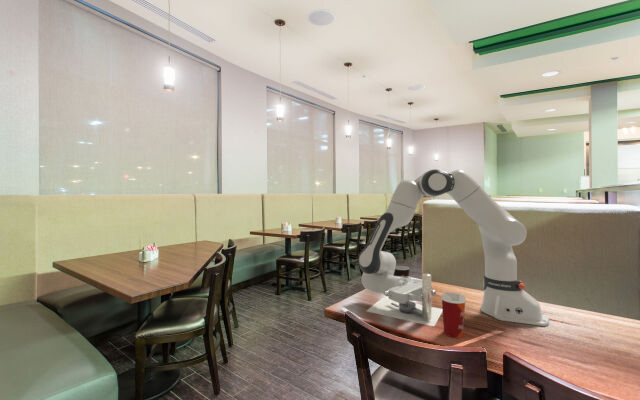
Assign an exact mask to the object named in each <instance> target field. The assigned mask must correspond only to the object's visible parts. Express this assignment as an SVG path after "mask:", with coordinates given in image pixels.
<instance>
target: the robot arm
mask: <svg viewBox="0 0 640 400" xmlns="http://www.w3.org/2000/svg"><path fill="white" fill-rule="evenodd" d="M444 194H447V195H449V196H450V197H451V198H452V199H453V200H454V201H455V202H456V204H458V206H459V207H460V208H461V210H463V211H464V213H466V215H467V216H468V217H469V218H470V219H472V220H473V221H474V223H477V225H478V231H479V233H480V235H481V242H482V248H483V256H484V275H483V279H482V280H483V281H482V282H483V283H482V284H483V285H482V286H483V289H484V290H483V298H482V303H481V306H480V311H481V312H483V313H484V314H486V315H488V316H490V317H493V318H494V319H496V320H499V321H502V322H503V321H504V322H511V323H518V324H527V325H532V326H538V327H539V326H541V327H546V326H548V325H549V324H550V321H549V317H548V316H547V315H546V313H544V312H542V309H541V306H540V303H539V301H538V300H537V299H536V298H535V297H534V296H532V295H530V294H529V293H528V292H526V291H525V290H524V289H526V285H525V283H524V282H523V281H522V280H519V279H518V260H517V256H516V255H515V253H514V249H513V247H514V246H519V245H521V244H523V243H524V241H526V239H527V235H528V231H527V228H526V226H525V225H524V224H523V223H522V222H520V221H518V219H517V218H515V217H514V216H513V215H512V214H511V213H509V212H508V211H507V210H506V209H505V208H504V207H502V206H501V205H500V204H499V203H498V202H496V201H495V200H494V199H493V198H492V197H491V196H490V195H489V194H488V193H487V191H486V190H485V189H484V188H483V187H482V186H481V185H480V184H479V183H478V181H476V180H475V179H474V178H473V177H472V176H470V175H469V174H468V173H467V172H465V171H464V170H462V169H455V170H453V171H451V172H447V171H444V170H442V169H435V168H434V169H430V170H427V171H426V172H423V173H422V174H421V175H420V176H419V177H417V178H416V180H414V181H413V180H410V179H405V180H402V181H400V182H399V183H398V184H397V186H396V187H395V190H394V192H393V194H392V196H391V199H390V202H389V203H388V204H389V205H388V206H387V208H386V210H385V212H384V213H383V214H382V215H380V217H379V219H377V220H378V221H377V222H376V224H375V226H374V228H373V231H372V233H371V235H370V237H369V239H368V240H367V243H366V245H365V246H364V248H362V250H361V251H360V252H359V254H358V258H357V261H358V266H359V268H360V270H361V271H362V272H363V273H362V275H361V284H362V285H363V287H364V289H365V290H367V291H369V292H372V293H374V294H378V295H384V296H386V298H388V299H391V300H393V301H396V302H398V303H406V302H408V301H412V302H419V303H420V302H421V303H422V301H423V300H424V299H423V298H424V297H423V296H422V279H421V280H420V279H417V278H416V279H415V278H412V277H411V276H403V277H399V276H393V275H394V272H395V268H396V266H397V260H396V257H395V255H394V254H393V253H391V252H389V251H384V250H382V249H383V247H384V244H385V242H386V240H387V238H388V236H389V234H390V233H392V231H394V230H397V229H398V228H401V227H405V226H407V225H408V224H409V223H411V221H412V219H413V218H414V216H415V213H416V210H417V207H418V204H419V202H420V200H421V199H422V198H436V197H439V196H441V195H444ZM435 295H437V291H436V290H435V289H432V288H431V297H432V296H435Z"/></svg>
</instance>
